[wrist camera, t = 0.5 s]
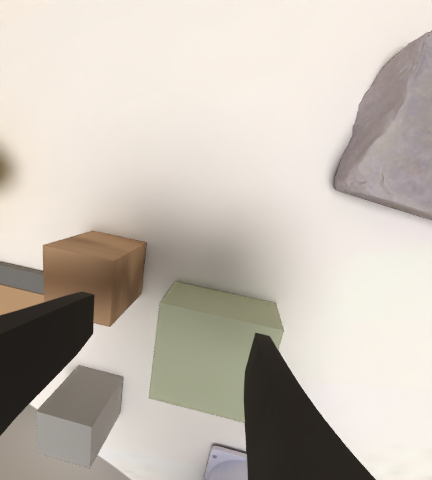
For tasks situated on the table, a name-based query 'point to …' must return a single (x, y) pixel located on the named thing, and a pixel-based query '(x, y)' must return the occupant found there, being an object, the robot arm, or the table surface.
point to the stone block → (394, 135)
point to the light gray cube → (79, 416)
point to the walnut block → (96, 271)
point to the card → (19, 287)
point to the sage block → (208, 348)
